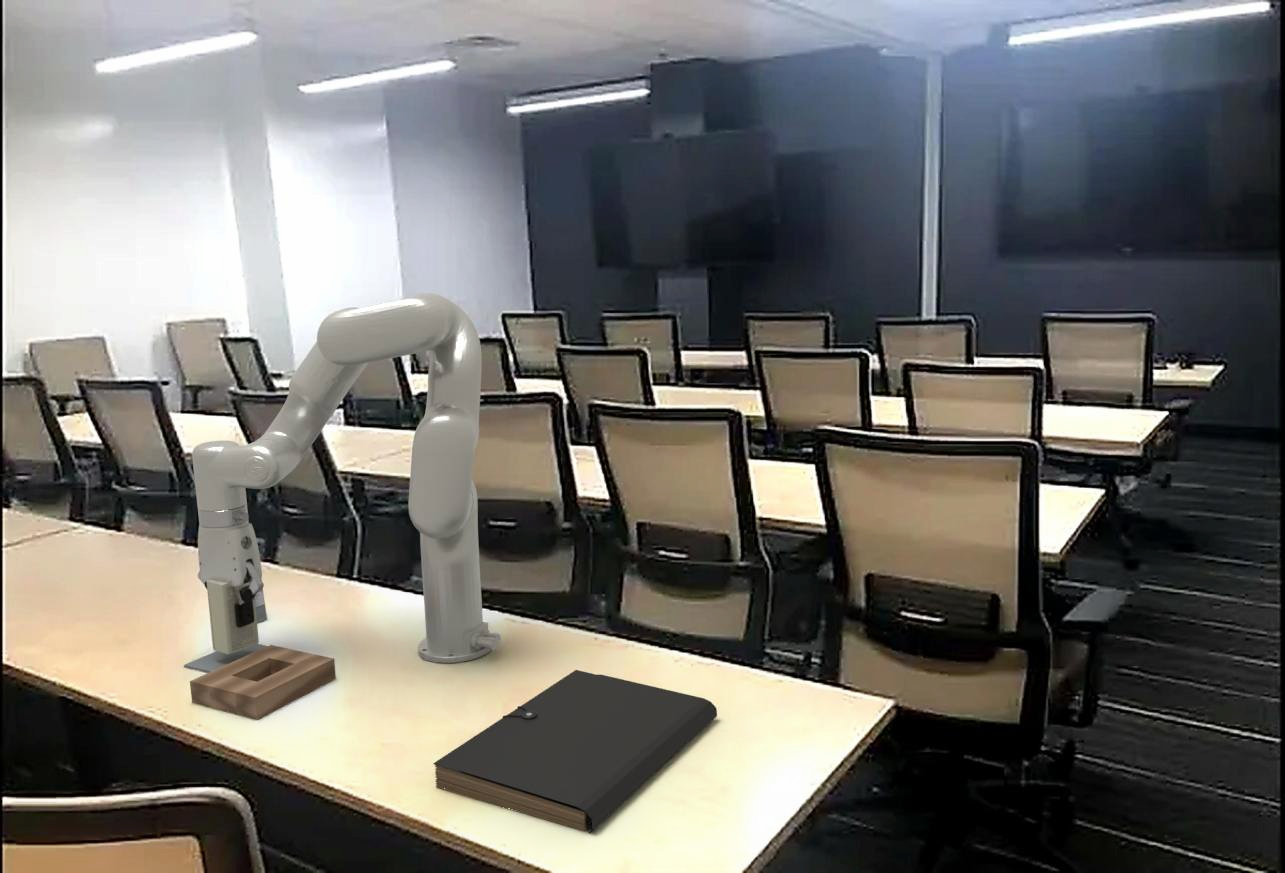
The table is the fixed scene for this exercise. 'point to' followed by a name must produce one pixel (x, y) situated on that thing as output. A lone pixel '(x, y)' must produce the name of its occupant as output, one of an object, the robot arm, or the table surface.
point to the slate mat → (221, 659)
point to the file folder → (575, 748)
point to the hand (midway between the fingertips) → (234, 621)
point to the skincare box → (228, 620)
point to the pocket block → (262, 681)
